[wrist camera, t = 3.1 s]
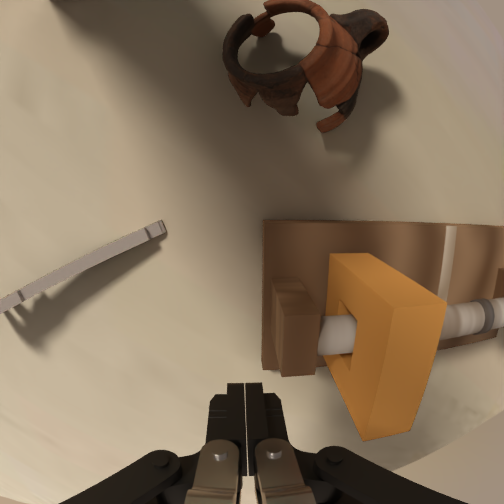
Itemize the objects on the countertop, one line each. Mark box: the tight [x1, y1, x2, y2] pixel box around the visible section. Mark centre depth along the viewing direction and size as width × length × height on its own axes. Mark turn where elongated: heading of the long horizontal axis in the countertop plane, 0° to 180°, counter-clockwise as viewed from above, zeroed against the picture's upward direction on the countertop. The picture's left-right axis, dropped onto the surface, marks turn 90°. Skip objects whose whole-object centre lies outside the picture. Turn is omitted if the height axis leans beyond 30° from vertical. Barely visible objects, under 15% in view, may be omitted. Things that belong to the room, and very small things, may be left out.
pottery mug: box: [223, 0, 389, 132], centre depth 19 cm, size 12×10×8 cm
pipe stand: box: [261, 220, 504, 377], centre depth 22 cm, size 26×12×8 cm, turn 90°
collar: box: [323, 253, 447, 441], centre depth 18 cm, size 3×8×10 cm, turn 0°
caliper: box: [0, 220, 166, 314], centre depth 21 cm, size 20×1×6 cm, turn 111°
